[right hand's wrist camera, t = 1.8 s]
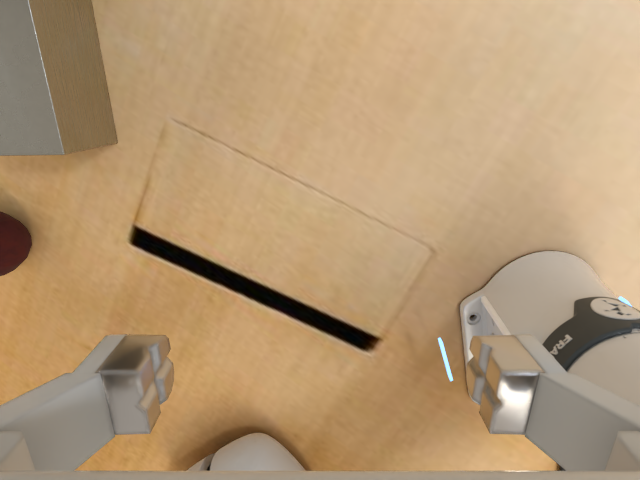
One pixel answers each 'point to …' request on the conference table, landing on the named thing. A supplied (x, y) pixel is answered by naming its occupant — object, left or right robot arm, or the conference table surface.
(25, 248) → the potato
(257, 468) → the white slotted rounded block
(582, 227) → the conference table surface
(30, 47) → the box
